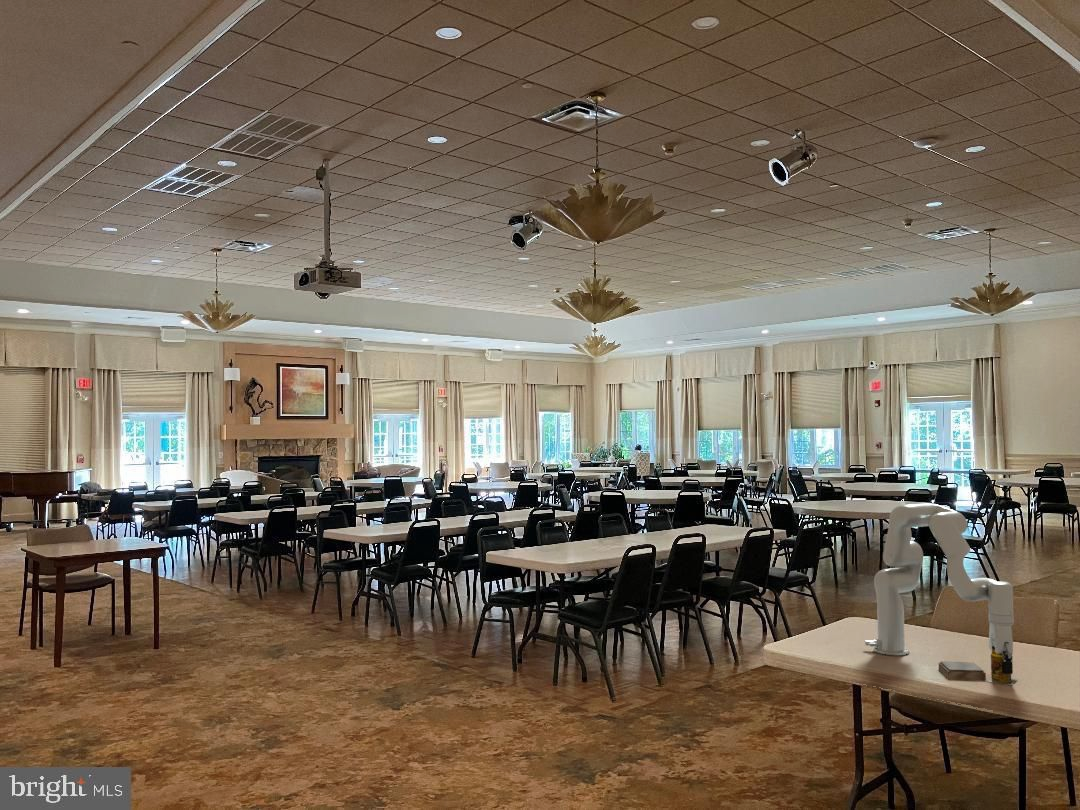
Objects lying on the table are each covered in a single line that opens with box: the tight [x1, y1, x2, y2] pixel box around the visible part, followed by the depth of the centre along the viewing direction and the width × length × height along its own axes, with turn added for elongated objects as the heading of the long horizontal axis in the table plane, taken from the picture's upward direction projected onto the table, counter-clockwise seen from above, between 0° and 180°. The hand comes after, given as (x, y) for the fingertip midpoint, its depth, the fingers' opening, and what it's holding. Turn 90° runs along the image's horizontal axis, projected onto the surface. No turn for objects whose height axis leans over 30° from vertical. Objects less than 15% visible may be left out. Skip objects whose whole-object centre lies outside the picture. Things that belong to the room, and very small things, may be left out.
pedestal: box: [938, 661, 987, 681], centre depth 314 cm, size 12×12×3 cm
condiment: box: [987, 646, 1018, 686], centre depth 306 cm, size 7×8×12 cm
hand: (1002, 669), depth 306 cm, fingers open, 9 cm apart
